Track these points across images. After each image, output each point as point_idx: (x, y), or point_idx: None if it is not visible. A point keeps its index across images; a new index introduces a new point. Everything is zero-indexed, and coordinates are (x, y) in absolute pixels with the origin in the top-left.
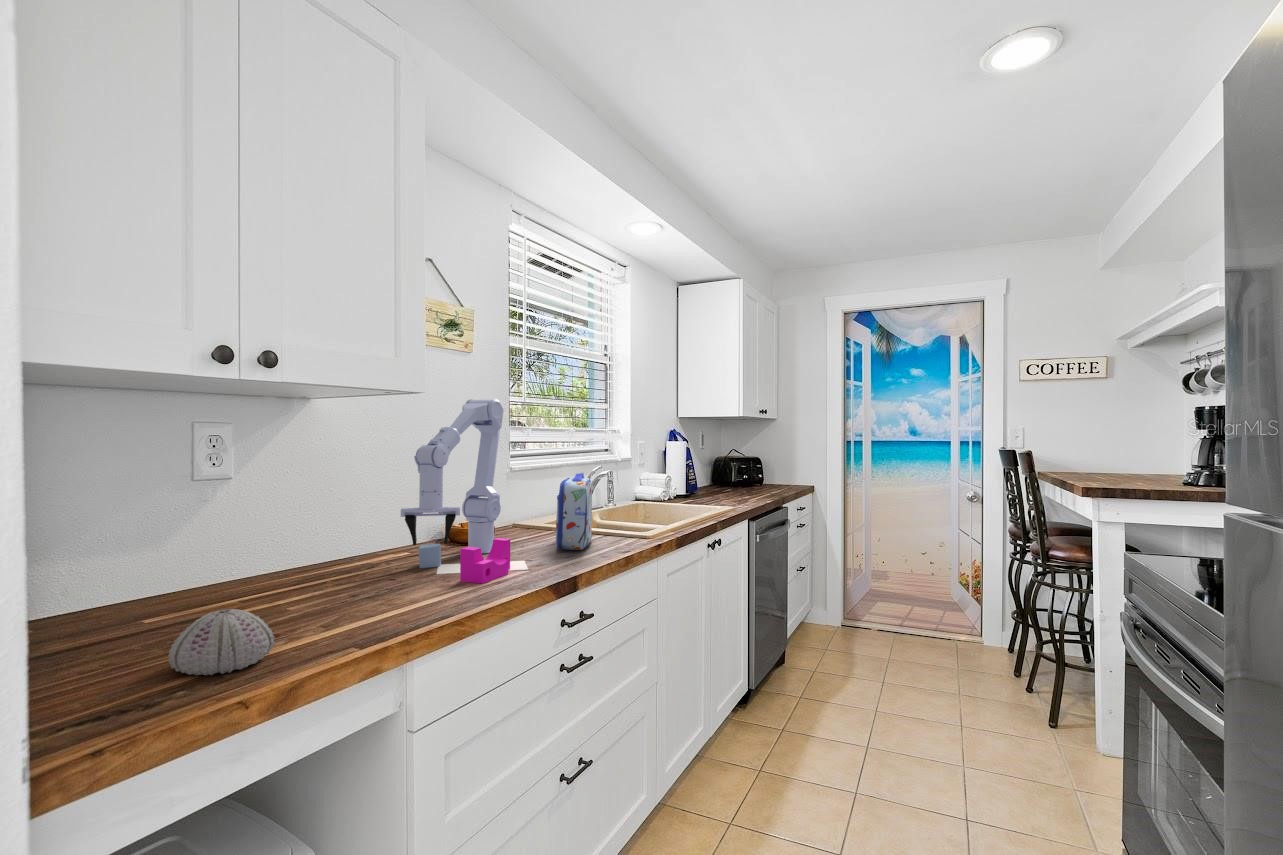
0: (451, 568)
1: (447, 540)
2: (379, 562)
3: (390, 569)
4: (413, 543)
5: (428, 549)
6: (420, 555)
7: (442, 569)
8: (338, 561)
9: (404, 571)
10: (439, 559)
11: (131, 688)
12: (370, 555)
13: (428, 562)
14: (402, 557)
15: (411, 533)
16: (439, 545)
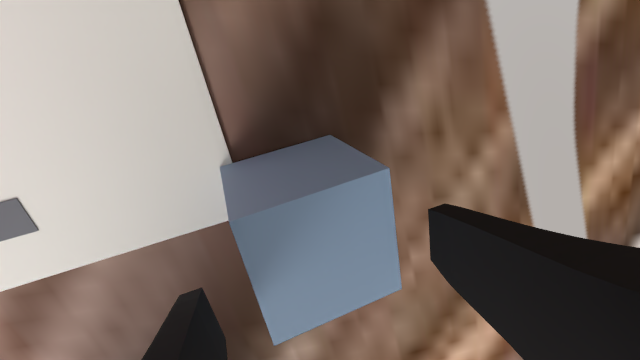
0: (111, 108)
1: (165, 319)
2: None
3: (461, 105)
4: (452, 205)
5: (315, 187)
6: (354, 154)
7: (166, 76)
8: (620, 233)
9: (390, 52)
10: (224, 179)
11: None
12: None
13: (291, 155)
14: (443, 328)
15: (550, 233)
16: (251, 278)
